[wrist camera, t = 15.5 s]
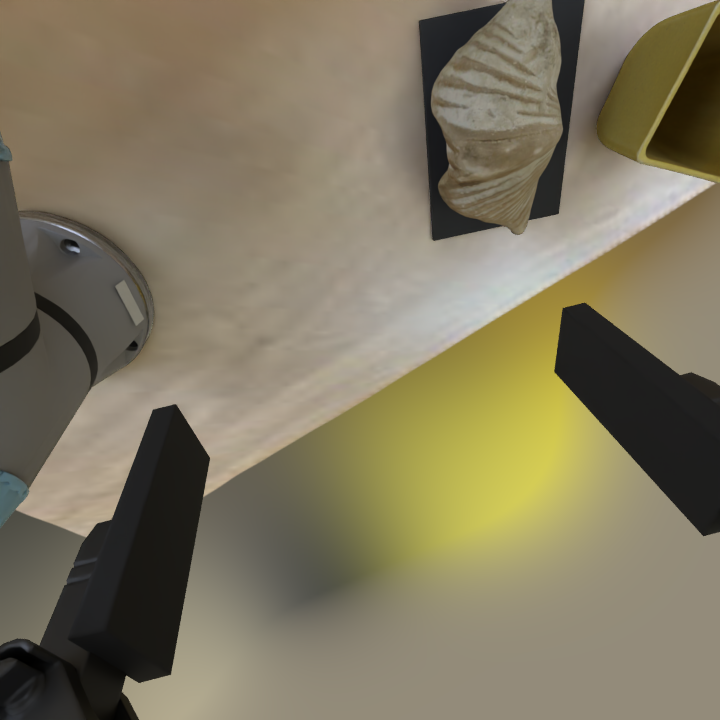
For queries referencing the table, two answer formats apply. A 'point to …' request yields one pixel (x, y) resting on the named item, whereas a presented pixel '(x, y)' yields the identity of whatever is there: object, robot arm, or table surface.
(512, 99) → the seashell
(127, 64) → the table surface
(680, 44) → the flower pot
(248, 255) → the table surface
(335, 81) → the table surface
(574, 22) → the mat
